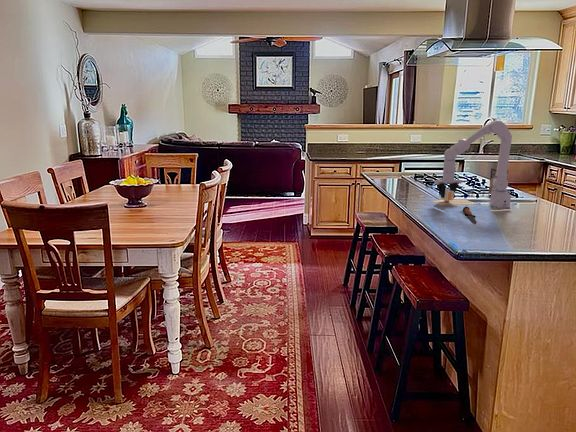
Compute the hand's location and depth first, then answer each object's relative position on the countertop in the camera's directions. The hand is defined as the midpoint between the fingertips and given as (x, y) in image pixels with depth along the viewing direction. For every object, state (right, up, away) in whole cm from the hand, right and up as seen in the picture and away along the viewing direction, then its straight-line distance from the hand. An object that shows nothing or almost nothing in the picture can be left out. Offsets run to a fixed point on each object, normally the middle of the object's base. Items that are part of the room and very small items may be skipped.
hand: (446, 197), depth 239 cm
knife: (0, -11, -30) cm, 32 cm away
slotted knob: (0, -1, 0) cm, 1 cm away
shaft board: (+4, -3, +2) cm, 6 cm away
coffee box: (+37, +1, +22) cm, 43 cm away
